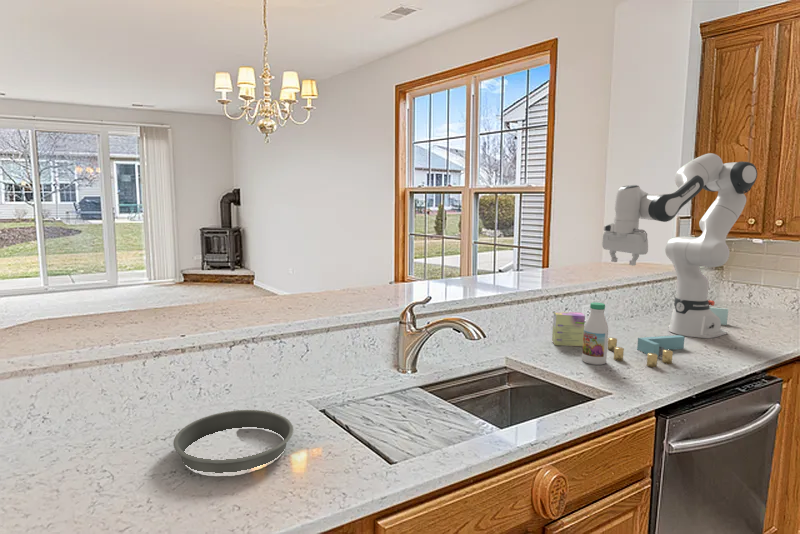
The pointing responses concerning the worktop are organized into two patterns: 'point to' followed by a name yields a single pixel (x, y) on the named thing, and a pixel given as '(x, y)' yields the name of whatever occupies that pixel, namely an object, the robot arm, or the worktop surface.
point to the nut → (661, 350)
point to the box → (568, 328)
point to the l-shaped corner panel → (721, 314)
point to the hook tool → (660, 343)
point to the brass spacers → (650, 357)
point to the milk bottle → (595, 336)
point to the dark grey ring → (228, 422)
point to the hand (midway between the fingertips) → (623, 263)
